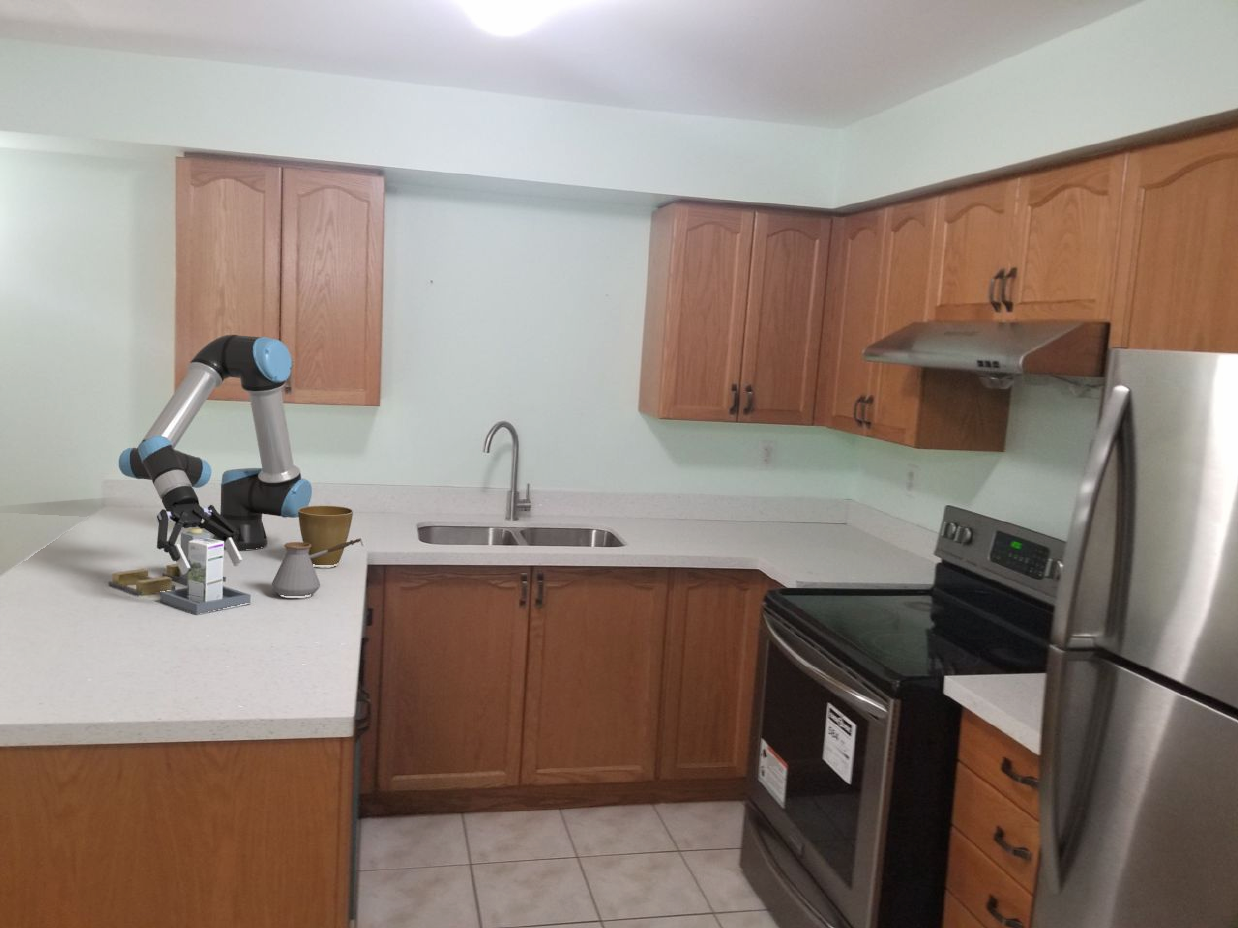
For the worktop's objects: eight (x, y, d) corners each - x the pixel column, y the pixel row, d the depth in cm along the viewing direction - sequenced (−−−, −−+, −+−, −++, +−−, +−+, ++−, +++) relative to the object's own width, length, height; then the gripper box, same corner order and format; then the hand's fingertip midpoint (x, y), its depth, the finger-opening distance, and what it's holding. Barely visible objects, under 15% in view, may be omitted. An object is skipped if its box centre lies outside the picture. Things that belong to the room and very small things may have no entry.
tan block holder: (146, 579, 249) (146, 568, 248) (175, 589, 242) (175, 577, 242) (108, 585, 241) (109, 573, 240) (137, 595, 234) (138, 583, 234)
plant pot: (312, 557, 287) (314, 503, 285) (359, 563, 284) (362, 509, 283) (284, 567, 273) (287, 510, 271) (334, 574, 270) (337, 516, 268)
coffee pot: (268, 600, 239) (271, 540, 237) (273, 589, 250) (276, 530, 248) (359, 602, 244) (363, 543, 242) (360, 591, 255) (364, 533, 253)
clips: (196, 571, 260) (197, 560, 260) (225, 581, 254) (226, 569, 253) (162, 577, 252) (162, 565, 252) (191, 586, 246) (192, 575, 245)
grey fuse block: (197, 576, 256) (198, 526, 255) (209, 579, 254) (210, 530, 252) (179, 578, 252) (181, 528, 251) (191, 582, 249) (193, 532, 248)
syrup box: (223, 600, 234) (225, 540, 232) (204, 605, 228) (207, 544, 227) (204, 596, 236) (206, 536, 234) (185, 601, 230) (187, 540, 229)
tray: (213, 592, 242) (214, 583, 242) (250, 604, 234) (250, 594, 234) (160, 602, 230) (160, 592, 230) (196, 615, 223) (197, 604, 223)
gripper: (216, 498, 249) (251, 568, 242) (119, 507, 228) (155, 583, 221) (230, 480, 245) (266, 551, 239) (133, 487, 224) (170, 565, 218)
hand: (213, 567), depth 230 cm, fingers open, 13 cm apart
